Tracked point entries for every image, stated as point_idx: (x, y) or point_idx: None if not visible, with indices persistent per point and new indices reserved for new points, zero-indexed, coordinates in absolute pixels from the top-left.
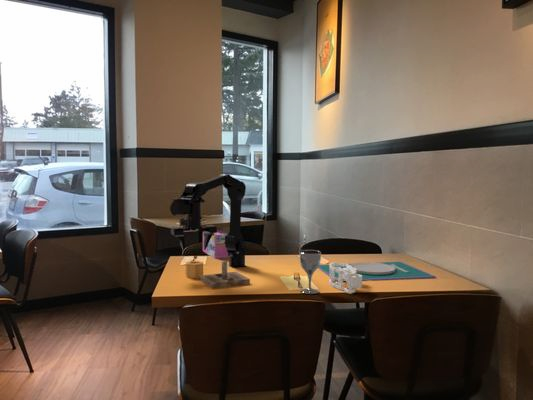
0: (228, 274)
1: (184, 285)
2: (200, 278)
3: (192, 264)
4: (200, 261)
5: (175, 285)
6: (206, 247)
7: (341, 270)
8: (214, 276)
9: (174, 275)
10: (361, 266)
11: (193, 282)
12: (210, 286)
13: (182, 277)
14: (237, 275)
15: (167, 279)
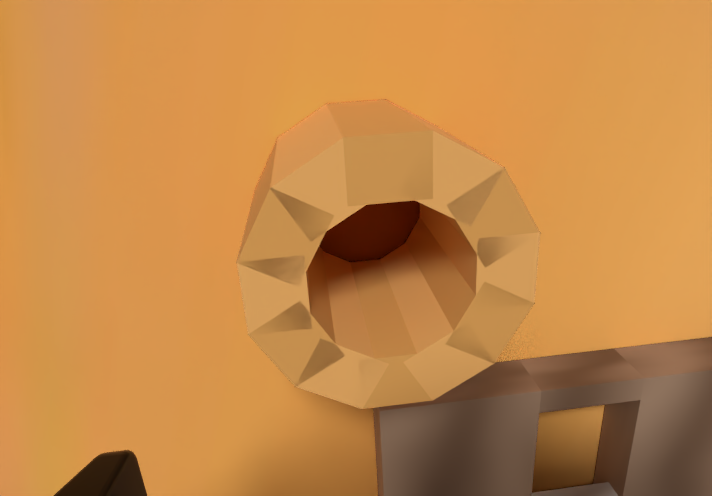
0: (660, 443)
1: (188, 492)
2: (376, 407)
3: (325, 396)
4: (518, 233)
5: None
6: None
7: None
8: (504, 477)
9: (108, 39)
10: None
11: (291, 424)
12: None
13: (209, 193)
14: (707, 492)
15: (7, 228)
